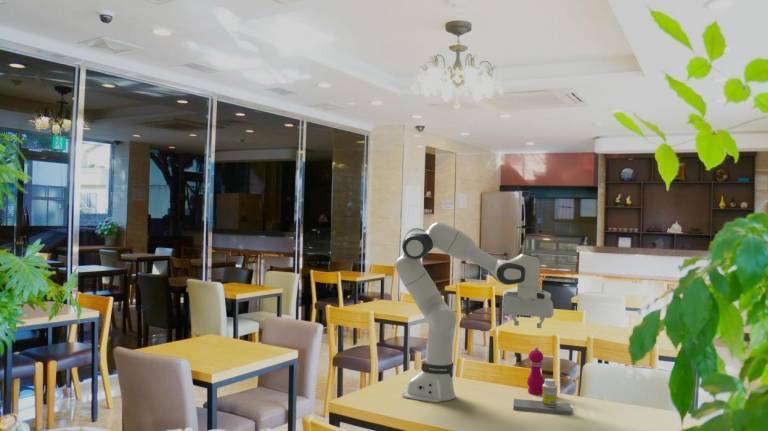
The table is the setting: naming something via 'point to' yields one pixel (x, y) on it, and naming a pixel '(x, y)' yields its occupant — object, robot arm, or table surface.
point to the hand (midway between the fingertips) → (527, 326)
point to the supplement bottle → (549, 393)
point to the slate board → (541, 407)
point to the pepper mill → (535, 373)
